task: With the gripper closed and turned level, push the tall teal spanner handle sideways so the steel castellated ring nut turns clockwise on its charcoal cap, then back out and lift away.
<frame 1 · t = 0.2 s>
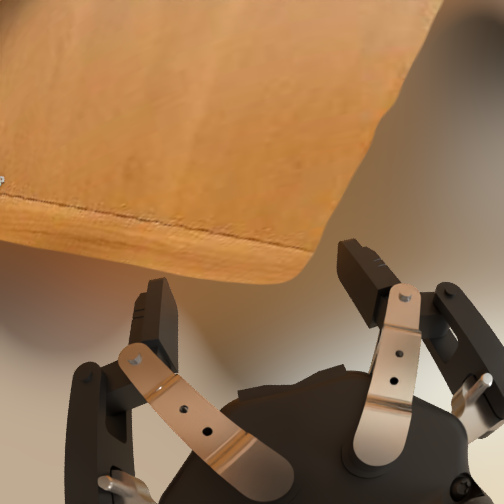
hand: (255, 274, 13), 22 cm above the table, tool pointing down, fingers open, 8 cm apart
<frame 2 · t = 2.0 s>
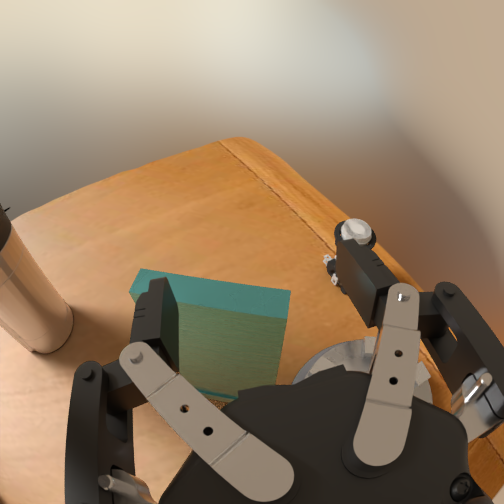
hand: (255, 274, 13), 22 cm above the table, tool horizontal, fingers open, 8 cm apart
nut cap: (358, 412, 27), on the table
push button: (337, 277, 41), on the table
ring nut: (339, 378, 20), point 12 cm above the table, hinge at -0.7°
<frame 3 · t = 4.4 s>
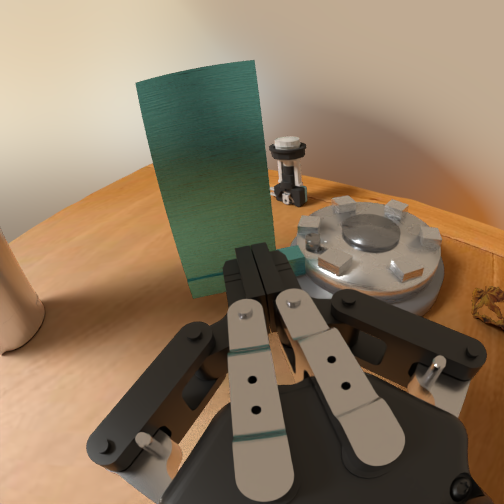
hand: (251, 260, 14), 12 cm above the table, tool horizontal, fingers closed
nut cap: (366, 269, 30), on the table
leaf: (492, 315, 21), on the table
push button: (288, 201, 46), on the table
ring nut: (323, 171, 23), point 12 cm above the table, hinge at -0.7°
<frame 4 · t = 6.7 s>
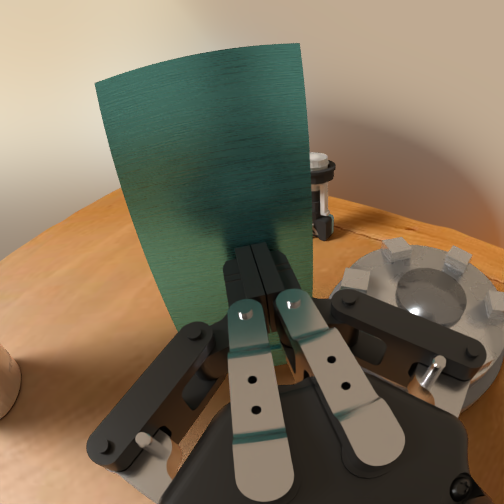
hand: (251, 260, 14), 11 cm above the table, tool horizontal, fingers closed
nut cap: (416, 335, 21), on the table
push button: (309, 232, 37), on the table
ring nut: (389, 225, 15), point 12 cm above the table, hinge at 4.9°, touching gripper
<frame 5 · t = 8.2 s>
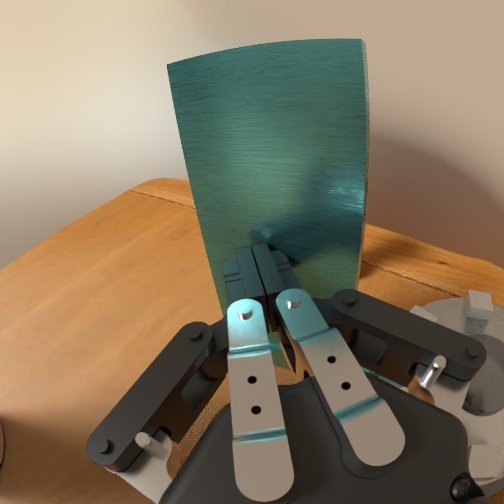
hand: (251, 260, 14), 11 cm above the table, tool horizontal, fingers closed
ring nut: (455, 277, 11), point 12 cm above the table, hinge at 36.8°, touching gripper
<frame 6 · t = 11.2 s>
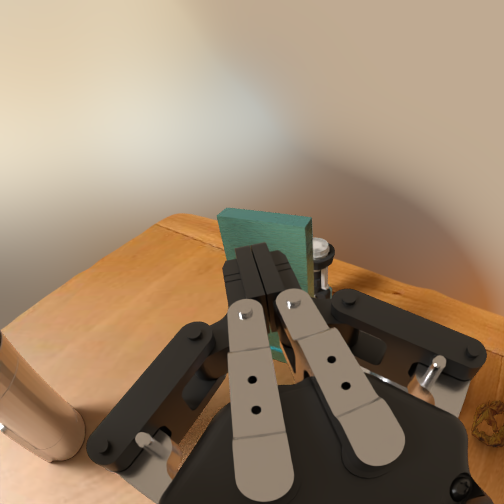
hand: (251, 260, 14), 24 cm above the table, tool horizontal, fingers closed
leaf: (489, 427, 20), on the table
push button: (312, 298, 45), on the table
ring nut: (359, 320, 25), point 12 cm above the table, hinge at 38.9°
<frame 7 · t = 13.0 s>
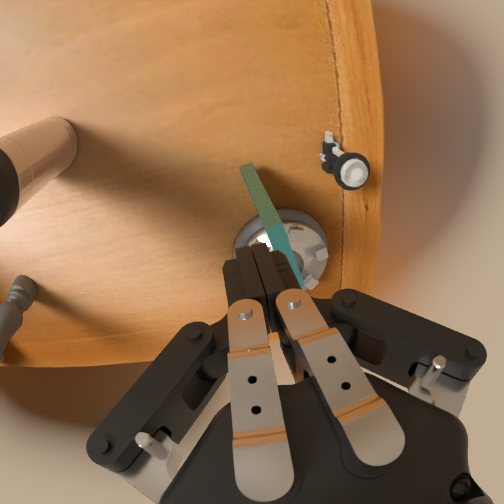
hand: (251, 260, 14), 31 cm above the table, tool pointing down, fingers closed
candle holder: (26, 286, 48), on the table
nut cap: (279, 251, 53), on the table
push button: (327, 150, 43), on the table
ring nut: (287, 268, 40), point 12 cm above the table, hinge at 38.9°
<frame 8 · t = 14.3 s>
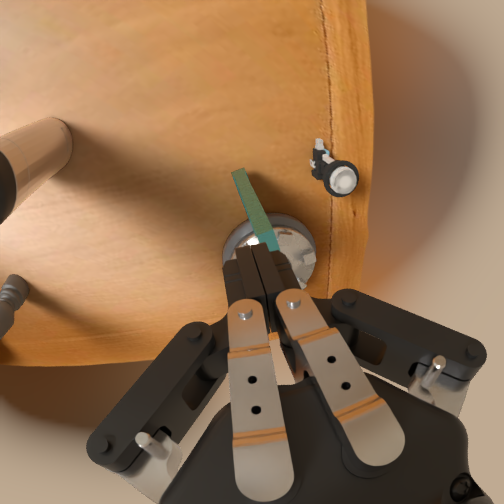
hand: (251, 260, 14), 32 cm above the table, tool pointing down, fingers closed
candle holder: (18, 285, 47), on the table
nut cap: (268, 254, 54), on the table
push button: (317, 156, 45), on the table
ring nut: (276, 272, 41), point 12 cm above the table, hinge at 38.9°
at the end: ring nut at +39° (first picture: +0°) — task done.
